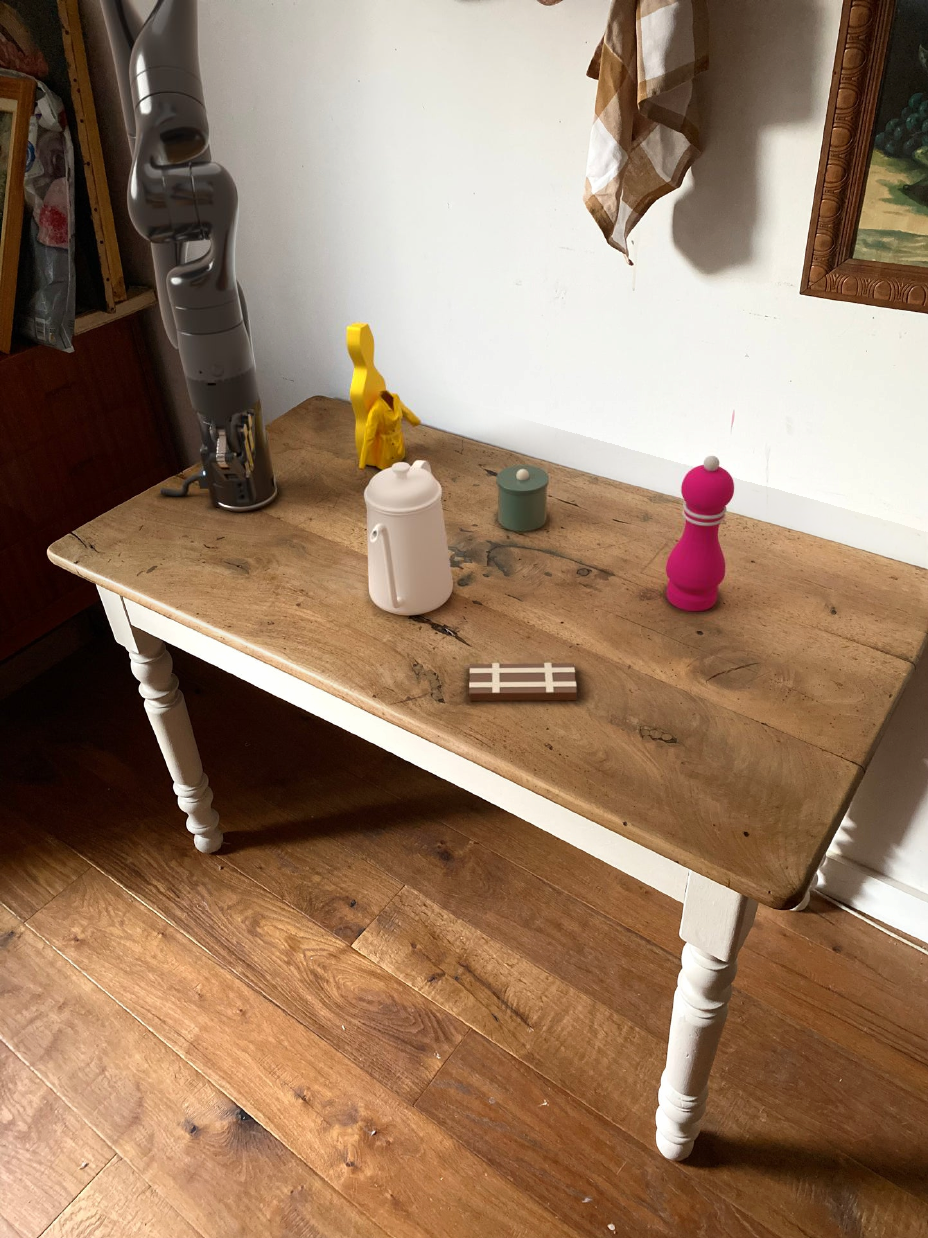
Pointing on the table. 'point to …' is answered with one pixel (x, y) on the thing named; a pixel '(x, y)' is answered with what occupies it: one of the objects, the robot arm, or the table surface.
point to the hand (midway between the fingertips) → (246, 501)
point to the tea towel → (522, 682)
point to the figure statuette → (374, 405)
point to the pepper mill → (700, 538)
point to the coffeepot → (407, 540)
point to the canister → (522, 497)
